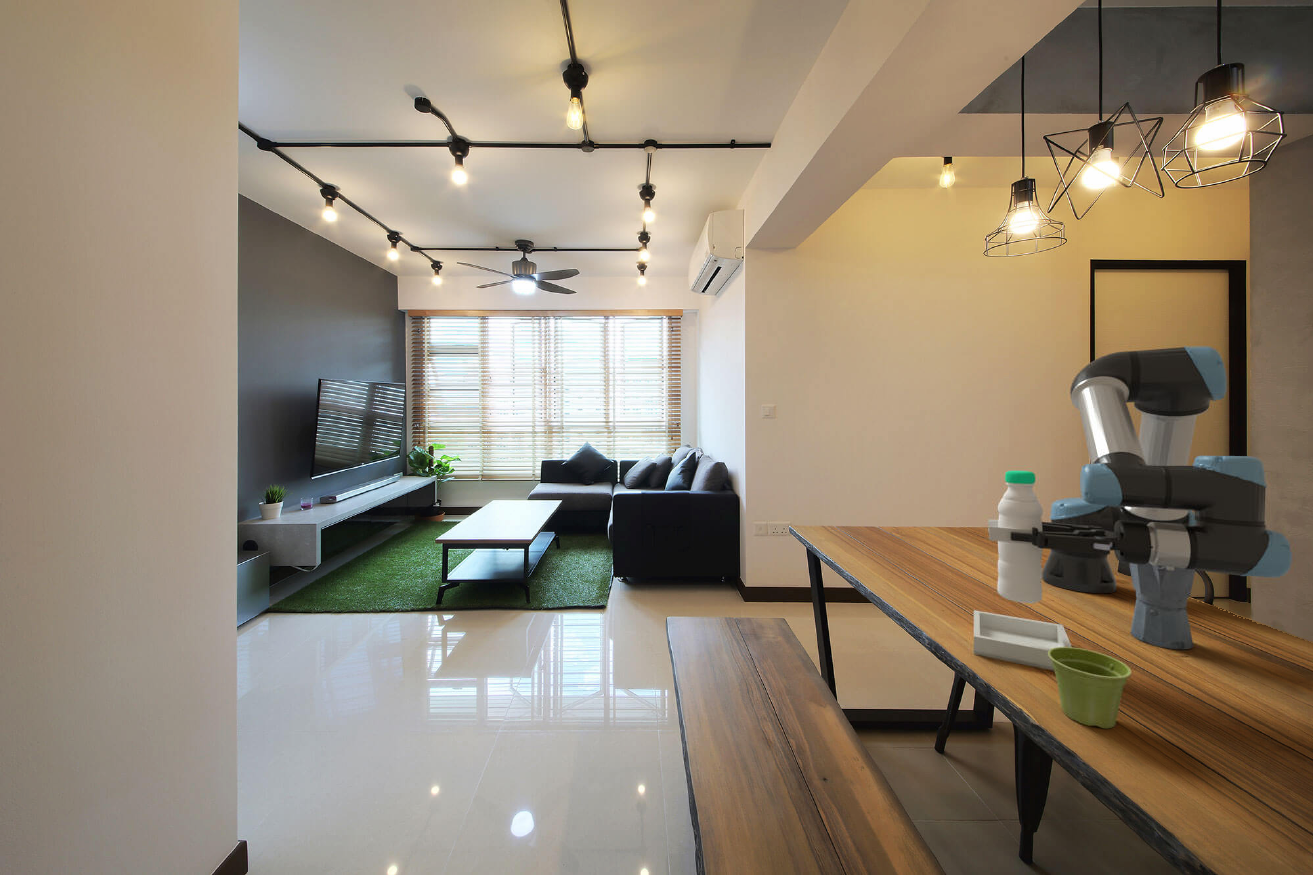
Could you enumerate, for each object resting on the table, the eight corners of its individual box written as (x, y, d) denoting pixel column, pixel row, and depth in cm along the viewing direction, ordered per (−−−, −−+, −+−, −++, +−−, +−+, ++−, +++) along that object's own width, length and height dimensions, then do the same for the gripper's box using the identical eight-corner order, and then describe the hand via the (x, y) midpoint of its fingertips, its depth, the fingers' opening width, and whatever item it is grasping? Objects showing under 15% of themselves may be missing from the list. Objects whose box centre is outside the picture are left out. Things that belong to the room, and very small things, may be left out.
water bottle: (1050, 605, 91) (1051, 473, 90) (1008, 603, 92) (1009, 473, 92) (1029, 592, 98) (1030, 469, 97) (990, 590, 99) (991, 469, 99)
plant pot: (1109, 744, 67) (1110, 683, 67) (1034, 708, 76) (1034, 653, 76) (1144, 726, 71) (1145, 668, 71) (1068, 693, 80) (1069, 642, 79)
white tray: (973, 625, 106) (973, 610, 106) (1062, 642, 98) (1062, 624, 98) (973, 653, 93) (973, 636, 93) (1075, 675, 85) (1075, 655, 85)
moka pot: (1127, 645, 96) (1128, 545, 95) (1125, 621, 107) (1126, 531, 107) (1199, 660, 89) (1201, 553, 89) (1189, 633, 101) (1190, 537, 100)
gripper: (1165, 580, 77) (989, 559, 89) (1131, 551, 93) (987, 537, 106) (1166, 533, 77) (990, 519, 89) (1132, 513, 93) (987, 503, 106)
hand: (988, 529), depth 98 cm, fingers closed on water bottle, 7 cm apart
